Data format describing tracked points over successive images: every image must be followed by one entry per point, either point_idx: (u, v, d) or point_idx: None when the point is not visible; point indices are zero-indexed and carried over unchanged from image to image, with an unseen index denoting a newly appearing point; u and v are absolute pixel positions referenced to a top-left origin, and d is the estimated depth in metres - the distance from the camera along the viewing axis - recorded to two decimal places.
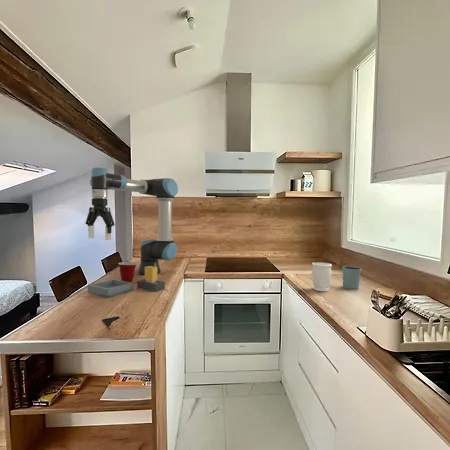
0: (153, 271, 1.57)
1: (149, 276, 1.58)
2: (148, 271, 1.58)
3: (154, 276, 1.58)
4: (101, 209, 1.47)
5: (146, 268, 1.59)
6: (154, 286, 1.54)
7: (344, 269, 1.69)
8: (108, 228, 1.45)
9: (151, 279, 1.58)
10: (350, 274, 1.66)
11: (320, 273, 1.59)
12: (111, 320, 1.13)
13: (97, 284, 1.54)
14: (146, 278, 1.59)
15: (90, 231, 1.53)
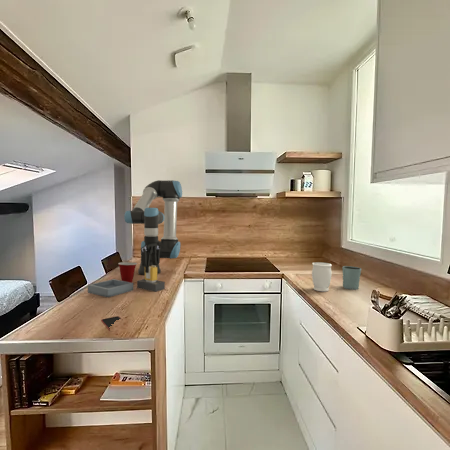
0: (153, 271, 1.57)
1: None
2: None
3: (154, 276, 1.58)
4: None
5: None
6: (154, 286, 1.54)
7: (344, 269, 1.69)
8: None
9: (151, 279, 1.58)
10: (350, 274, 1.66)
11: (320, 273, 1.59)
12: (111, 320, 1.13)
13: (97, 284, 1.54)
14: (146, 278, 1.59)
15: None
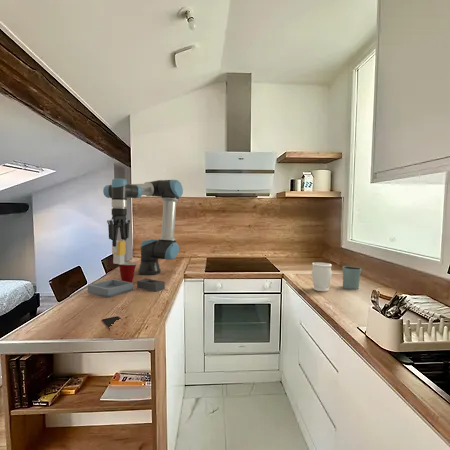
0: (120, 245, 1.50)
1: None
2: None
3: (122, 250, 1.52)
4: None
5: None
6: (154, 286, 1.54)
7: (344, 269, 1.69)
8: None
9: (119, 253, 1.51)
10: (350, 274, 1.66)
11: (320, 273, 1.59)
12: (111, 320, 1.13)
13: (97, 284, 1.54)
14: None
15: None
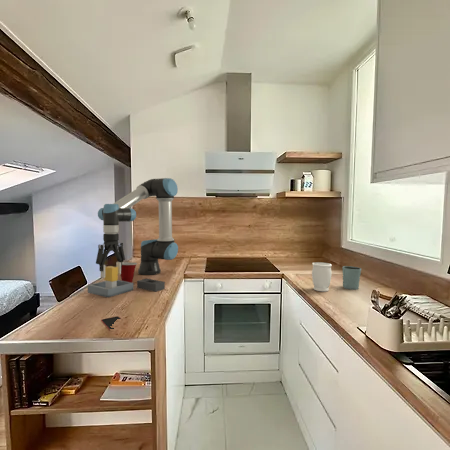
0: (112, 272, 1.50)
1: (109, 276, 1.51)
2: (108, 271, 1.51)
3: (114, 276, 1.51)
4: None
5: (106, 268, 1.52)
6: (154, 286, 1.54)
7: (344, 269, 1.69)
8: None
9: (111, 280, 1.50)
10: (350, 274, 1.66)
11: (320, 273, 1.59)
12: (111, 320, 1.13)
13: (97, 284, 1.54)
14: (106, 279, 1.52)
15: None
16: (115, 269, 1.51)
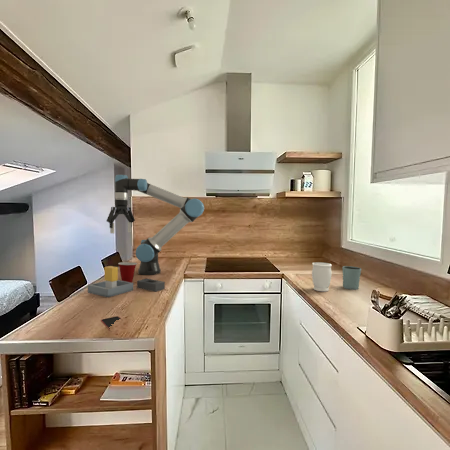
0: (112, 272, 1.50)
1: (109, 276, 1.51)
2: (108, 271, 1.51)
3: (114, 276, 1.51)
4: None
5: (106, 268, 1.52)
6: (154, 286, 1.54)
7: (344, 269, 1.69)
8: None
9: (111, 280, 1.50)
10: (350, 274, 1.66)
11: (320, 273, 1.59)
12: (111, 320, 1.13)
13: (97, 284, 1.54)
14: (106, 279, 1.52)
15: (128, 226, 1.90)
16: (115, 269, 1.51)
